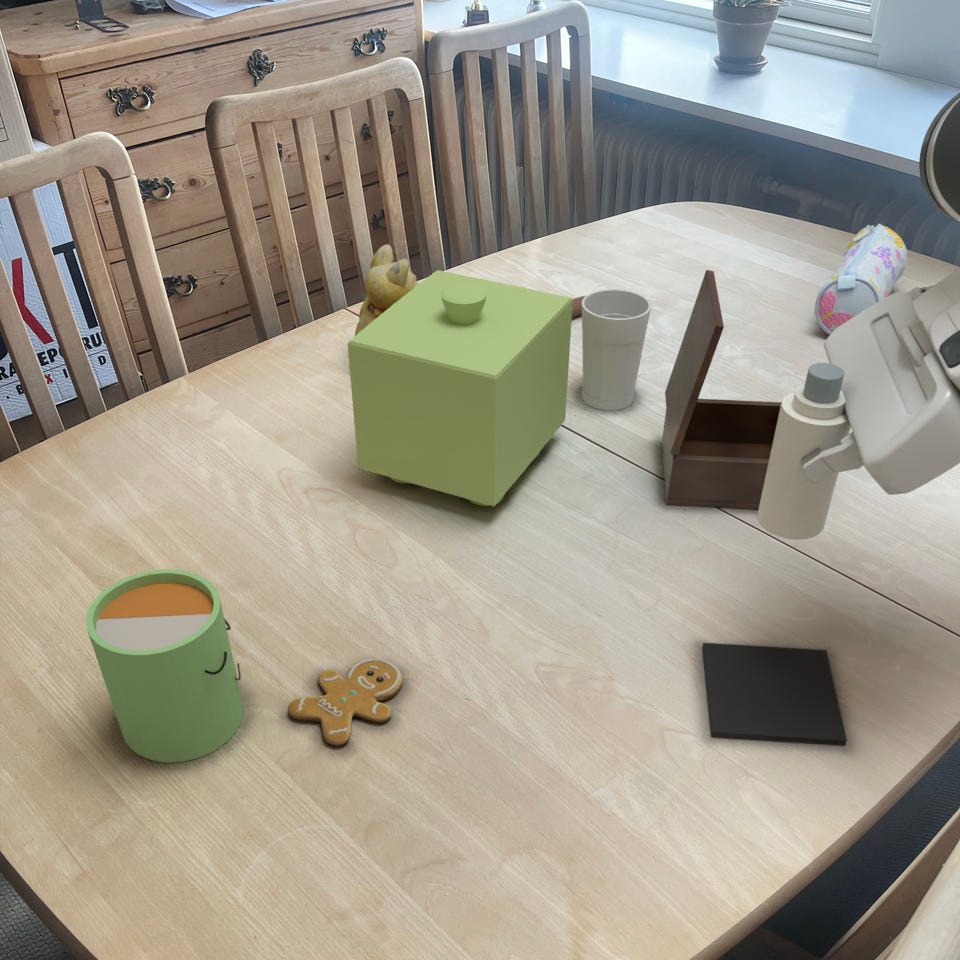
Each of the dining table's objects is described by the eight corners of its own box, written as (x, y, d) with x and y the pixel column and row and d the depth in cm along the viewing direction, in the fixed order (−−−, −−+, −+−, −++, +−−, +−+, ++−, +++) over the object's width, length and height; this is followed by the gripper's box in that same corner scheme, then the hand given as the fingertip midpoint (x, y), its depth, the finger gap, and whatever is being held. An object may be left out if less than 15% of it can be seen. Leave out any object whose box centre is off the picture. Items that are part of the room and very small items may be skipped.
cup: (630, 378, 132) (640, 286, 124) (648, 410, 126) (660, 316, 118) (568, 383, 131) (574, 291, 123) (584, 416, 125) (591, 321, 117)
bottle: (818, 503, 88) (857, 355, 79) (828, 541, 84) (870, 390, 75) (753, 500, 89) (784, 352, 80) (760, 537, 85) (794, 386, 76)
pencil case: (839, 279, 154) (854, 214, 147) (899, 290, 151) (918, 224, 144) (805, 338, 140) (820, 269, 133) (871, 352, 137) (890, 282, 131)
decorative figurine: (435, 373, 133) (432, 257, 123) (379, 392, 129) (371, 274, 119) (396, 344, 139) (389, 230, 128) (341, 361, 135) (330, 246, 125)
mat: (825, 654, 95) (826, 649, 94) (845, 745, 86) (847, 740, 86) (702, 647, 95) (703, 642, 95) (711, 736, 87) (712, 731, 87)
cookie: (275, 700, 89) (360, 639, 94) (276, 708, 89) (360, 647, 95) (342, 749, 85) (427, 682, 90) (343, 756, 85) (427, 690, 91)
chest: (780, 447, 120) (791, 402, 116) (795, 511, 111) (807, 465, 107) (661, 441, 121) (667, 396, 117) (666, 504, 112) (673, 458, 108)
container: (440, 406, 127) (435, 242, 113) (564, 438, 121) (575, 270, 108) (359, 487, 114) (343, 313, 100) (494, 526, 109) (497, 348, 95)
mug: (242, 758, 85) (218, 651, 77) (111, 766, 85) (73, 658, 77) (254, 653, 95) (234, 547, 86) (137, 659, 94) (105, 553, 86)
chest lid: (713, 271, 107) (706, 269, 107) (724, 326, 98) (715, 325, 98) (671, 394, 117) (664, 392, 117) (677, 455, 107) (669, 453, 107)
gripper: (912, 249, 81) (761, 360, 88) (982, 375, 66) (793, 496, 73) (953, 306, 84) (804, 409, 91) (1030, 440, 69) (844, 551, 76)
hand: (799, 449), depth 82 cm, fingers closed on bottle, 5 cm apart
